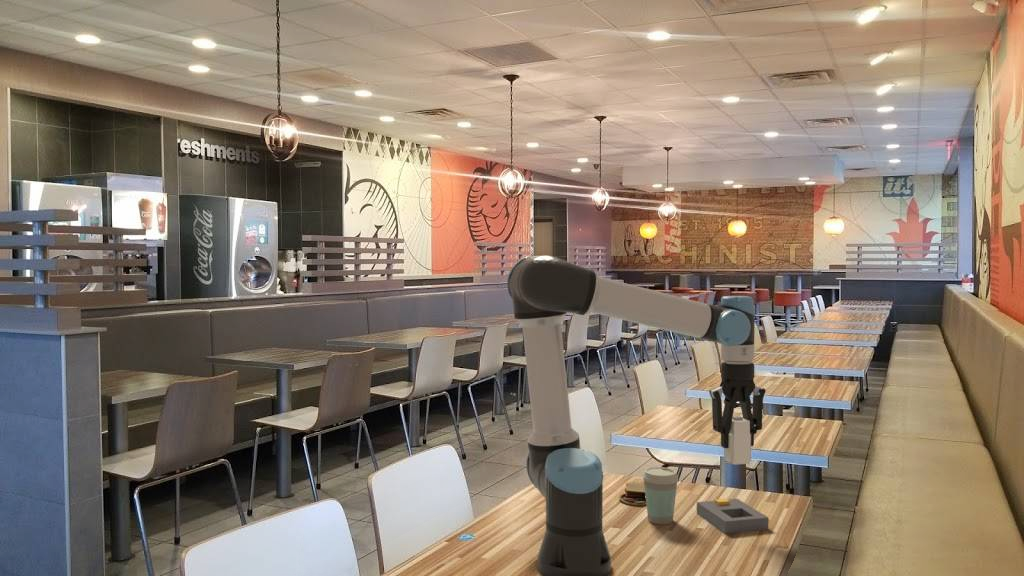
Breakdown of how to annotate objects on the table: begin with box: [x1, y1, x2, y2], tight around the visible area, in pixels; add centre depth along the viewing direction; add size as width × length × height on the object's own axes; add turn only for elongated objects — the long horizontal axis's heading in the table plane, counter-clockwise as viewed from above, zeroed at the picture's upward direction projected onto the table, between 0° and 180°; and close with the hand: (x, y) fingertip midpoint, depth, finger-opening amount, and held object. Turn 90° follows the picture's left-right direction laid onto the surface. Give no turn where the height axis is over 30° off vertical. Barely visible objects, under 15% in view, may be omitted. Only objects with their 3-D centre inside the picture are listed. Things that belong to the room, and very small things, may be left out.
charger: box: [729, 416, 751, 466], centre depth 174 cm, size 4×4×11 cm
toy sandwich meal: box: [618, 481, 647, 507], centre depth 194 cm, size 9×10×4 cm
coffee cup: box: [642, 466, 680, 525], centre depth 179 cm, size 8×9×12 cm
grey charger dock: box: [696, 498, 769, 535], centre depth 177 cm, size 11×14×4 cm
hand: (737, 460), depth 174 cm, fingers closed on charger, 4 cm apart
